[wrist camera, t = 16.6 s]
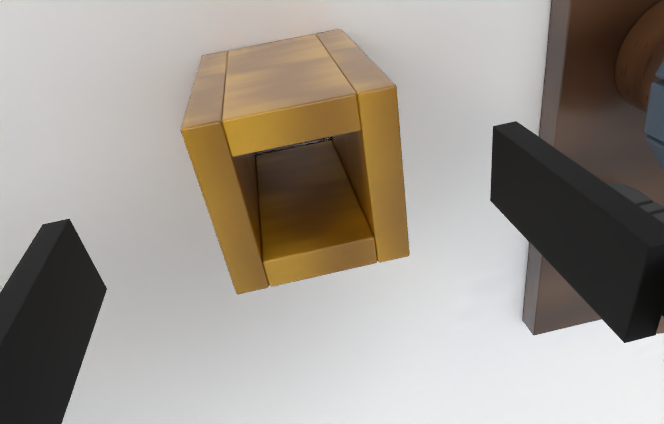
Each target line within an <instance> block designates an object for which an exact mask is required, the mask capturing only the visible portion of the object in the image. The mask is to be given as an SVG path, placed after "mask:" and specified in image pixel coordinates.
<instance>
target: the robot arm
mask: <svg viewBox="0 0 664 424" xmlns="http://www.w3.org/2000/svg"><path fill="white" fill-rule="evenodd" d="M490 201H491V202H492V203H493V204H494V205H495V206H496V207H497V208H498V209H499V210H500V211H501V212H502V213H503V214H504V216H505V217H506V218H507V219H508V220H509V221H510V222H511V223H512V224H513V225H514V226H515V227H516V228H517V229H518V230H519V231H520V232H521V234H522V235H523V236H524V237H525V238H526V239H527V240H528V241H529V242H530V243H531V244H532V245H533V246H534V247H535V248H536V249H537V251H538V252H539V253H540V254H541V255H542V256H543V257H544V258H545V259H546V260H547V261H548V262H549V263H550V264H551V265H552V266H553V268H554V269H555V270H556V271H557V272H558V273H559V274H560V275H561V276H562V277H563V278H564V279H565V280H566V281H567V282H568V283H569V285H570V286H571V287H572V288H573V289H574V290H575V291H576V292H577V293H578V294H579V295H580V296H581V297H582V298H583V299H584V300H585V301H586V303H587V304H588V305H589V306H590V307H591V308H592V309H593V310H594V311H595V312H596V313H597V314H598V315H599V316H600V317H601V318H602V320H603V321H604V322H605V323H606V324H607V325H608V326H609V327H610V328H611V329H612V330H613V331H614V332H615V333H616V334H617V335H618V337H619V338H620V339H621V340H622V341H623V342H624V343H626V342H630V341H634V340H638V339H642V338H646V337H649V336H653V335H656V332H657V329H658V325H659V322H660V319H661V316H663V317H664V207H663V206H661V205H660V204H658V203H657V202H653V200H652V199H651V198H649V197H648V196H646V195H644V194H643V193H641V192H640V191H638V190H637V189H634V188H631V187H628V186H625V185H622V184H620V183H617V182H615V183H610V184H606V183H605V182H603V181H602V180H600V179H599V178H598V177H596V176H595V175H593V174H592V173H590V172H589V171H587V170H586V169H585V168H583V167H582V166H580V165H579V164H577V163H576V162H574V161H573V160H571V159H570V158H569V157H567V156H566V155H564V154H563V153H561V152H560V151H558V150H557V149H556V148H554V147H553V146H551V145H550V144H548V143H547V142H545V141H544V140H542V139H541V138H540V137H538V136H537V135H535V134H534V133H532V132H531V131H529V130H528V129H526V128H525V127H524V126H522V125H521V124H519V123H518V122H511V123H506V124H502V125H497V126H493V144H492V171H491V198H490ZM106 290H107V288H106V286H105V284H104V282H103V281H102V279H101V277H100V275H99V273H98V271H97V269H96V268H95V266H94V264H93V262H92V260H91V258H90V256H89V254H88V253H87V251H86V249H85V247H84V245H83V243H82V241H81V240H80V238H79V236H78V234H77V232H76V230H75V228H74V226H73V225H72V223H71V221H70V219H66V220H61V221H57V222H52V223H48V224H43V225H42V227H41V228H40V230H39V231H38V233H37V235H36V236H35V238H34V239H33V241H32V243H31V244H30V246H29V247H28V249H27V251H26V252H25V254H24V256H23V257H22V259H21V260H20V262H19V264H18V265H17V267H16V268H15V270H14V272H13V273H12V275H11V276H10V278H9V280H8V281H7V283H6V284H5V286H4V288H3V289H2V291H1V292H0V424H62V421H63V418H64V415H65V412H66V409H67V406H68V403H69V400H70V397H71V394H72V391H73V388H74V385H75V382H76V379H77V376H78V373H79V370H80V367H81V364H82V361H83V358H84V355H85V352H86V349H87V346H88V344H89V341H90V338H91V335H92V332H93V329H94V326H95V323H96V320H97V317H98V314H99V311H100V308H101V305H102V302H103V299H104V296H105V293H106Z"/></svg>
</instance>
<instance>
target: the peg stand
mask: <svg viewBox="0 0 664 424" xmlns="http://www.w3.org/2000/svg"><path fill="white" fill-rule="evenodd" d="M663 60H664V0H552V6H551V17H550V28H549V39H548V50H547V61H546V72H545V82H544V93H543V104H542V115H541V126H540V138H541V139H542V140H544V141H545V142H547V143H548V144H550V145H551V146H553V147H554V148H556V149H557V150H558V151H560V152H561V153H563V154H564V155H566V156H567V157H569V158H570V159H571V160H573V161H574V162H576V163H577V164H579V165H580V166H582V167H583V168H585V169H586V170H587V171H589V172H590V173H592V174H593V175H595V176H596V177H598V178H599V179H600V180H602V181H603V182H605V183H606V184H610V183H615V182H617V183H620V184H622V185H625V186H628V187H631V188H634V189H637V190H638V191H640V192H641V193H643V194H644V195H646V196H648V197H649V198H651V199H652V200H653V202H657V203H658V204H660V205H661V206H663V207H664V170H662V168H661V166H660V165H659V163H658V161H657V159H656V157H655V156H654V154H653V152H652V150H651V148H650V146H649V145H648V143H647V141H646V139H645V138H646V137H647V136H648V134H647V133H645V132H644V129H645V122H646V116H647V109H648V102H649V95H650V89H651V84H652V83H653V82H656V81H659V80H663V79H661V78H659V77H656V75H655V73H656V72H657V70H658V68H659V67H660V65H661V64H662V62H663ZM600 319H602V318H601V317H600V316H599V315H598V314H597V313H596V312H595V311H594V310H593V309H592V308H591V307H590V306H589V305H588V304H587V303H586V301H585V300H584V299H583V298H582V297H581V296H580V295H579V294H578V293H577V292H576V291H575V290H574V289H573V288H572V287H571V286H570V285H569V283H568V282H567V281H566V280H565V279H564V278H563V277H562V276H561V275H560V274H559V273H558V272H557V271H556V270H555V269H554V268H553V266H552V265H551V264H550V263H549V262H548V261H547V260H546V259H545V258H544V257H543V256H542V255H541V254H540V253H539V252H538V251H537V249H536V248H535V247H534V246H533V245H532V244H531V243H530V246H529V257H528V268H527V279H526V289H525V300H524V311H523V322H524V323H525V324H526V326H527V327H528V329H529V330H530V331H531V333H532V334H533V335H537V334H542V333H546V332H550V331H554V330H558V329H562V328H567V327H571V326H575V325H579V324H583V323H587V322H592V321H596V320H600ZM659 333H664V317H663V316H661V319H660V322H659V325H658V329H657V332H656V334H659Z"/></svg>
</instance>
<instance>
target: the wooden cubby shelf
mask: <svg viewBox="0 0 664 424" xmlns="http://www.w3.org/2000/svg"><path fill="white" fill-rule="evenodd" d="M181 133H182V136H183V139H184V142H185V145H186V148H187V151H188V154H189V157H190V160H191V162H192V165H193V168H194V171H195V174H196V177H197V180H198V183H199V186H200V189H201V192H202V195H203V198H204V200H205V203H206V206H207V209H208V212H209V215H210V218H211V221H212V224H213V227H214V230H215V233H216V236H217V238H218V241H219V244H220V247H221V250H222V253H223V256H224V259H225V262H226V265H227V268H228V271H229V274H230V276H231V279H232V282H233V285H234V288H235V291H236V293H237V294H242V293H246V292H251V291H255V290H260V289H264V288H268V287H269V285H270V286H277V285H281V284H286V283H290V282H295V281H299V280H303V279H308V278H312V277H317V276H321V275H326V274H330V273H334V272H339V271H343V270H348V269H352V268H357V267H361V266H365V265H370V264H374V263H377V261H378V262H384V261H389V260H393V259H398V258H402V257H406V256H409V241H408V228H407V215H406V202H405V189H404V176H403V164H402V151H401V138H400V125H399V112H398V99H397V87H396V85H395V84H394V83H393V82H392V81H391V80H390V79H389V78H388V77H387V76H386V75H385V74H384V73H383V72H382V71H381V69H380V68H379V67H378V66H377V65H376V64H375V63H374V62H373V61H372V60H371V59H370V58H369V57H368V56H367V55H366V54H365V53H364V52H363V51H362V50H361V49H360V48H359V47H358V46H357V45H356V44H355V43H354V42H353V41H352V40H351V39H350V38H349V37H348V36H347V35H346V34H345V33H344V32H343V31H342V30H341V29H338V30H332V31H327V32H322V33H317V34H316V35H315V34H312V35H306V36H301V37H296V38H291V39H286V40H281V41H275V42H270V43H265V44H260V45H255V46H249V47H244V48H239V49H234V50H229V51H228V52H227V51H224V52H219V53H214V54H208V55H203V56H201V60H200V63H199V67H198V70H197V74H196V77H195V81H194V84H193V88H192V91H191V95H190V98H189V102H188V105H187V109H186V112H185V116H184V119H183V122H182V126H181ZM331 136H332V139H333V141H332V140H329V141H324V142H319V143H315V144H310V145H305V146H300V147H295V148H291V149H286V150H281V151H276V152H271V153H266V154H262V155H257V156H256V157H255V154H254V152H259V151H264V150H268V149H273V148H278V147H283V146H288V145H293V144H297V143H302V142H307V141H312V140H317V139H321V138H326V137H331Z"/></svg>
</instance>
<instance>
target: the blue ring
mask: <svg viewBox="0 0 664 424" xmlns="http://www.w3.org/2000/svg"><path fill="white" fill-rule="evenodd" d="M655 75H656V77H659V78H661V79H663V80H659V81H656V82H653V83H652V84H651V89H650V95H649V102H648V109H647V116H646V122H645V129H644V132H645V133H647V134H648V136H647V137H646V138H645V139H646V141H647V143H648V145H649V146H650V148H651V150H652V152H653V154H654V156H655V157H656V159H657V161H658V163H659V165H660V166H661V168H662V170H664V60H663V62H662V64H661V65H660V67H659V68H658V70H657V72H656V73H655Z"/></svg>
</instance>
